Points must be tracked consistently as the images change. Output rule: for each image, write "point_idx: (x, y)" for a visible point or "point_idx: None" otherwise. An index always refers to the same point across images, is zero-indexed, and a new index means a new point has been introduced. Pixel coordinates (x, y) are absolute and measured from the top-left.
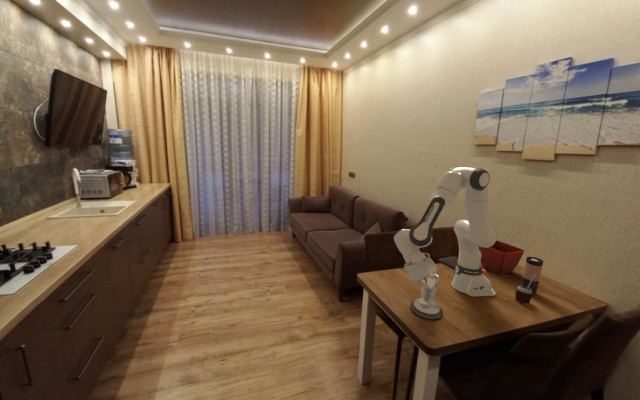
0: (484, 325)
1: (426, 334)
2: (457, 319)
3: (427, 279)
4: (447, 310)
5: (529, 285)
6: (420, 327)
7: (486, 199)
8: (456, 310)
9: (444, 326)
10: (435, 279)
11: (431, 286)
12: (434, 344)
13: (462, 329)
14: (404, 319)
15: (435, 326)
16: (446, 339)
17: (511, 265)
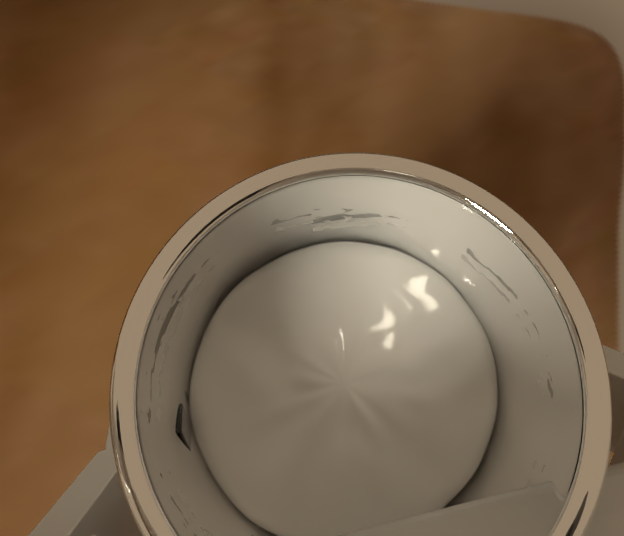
0: (14, 20)
1: (556, 131)
2: (153, 157)
3: (560, 341)
4: (112, 286)
5: None
6: (544, 208)
7: None
8: (28, 252)
9: (344, 140)
10: (423, 165)
11: (442, 252)
12: (575, 39)
13: (236, 60)
14: (607, 341)
15: None
16: (453, 38)
17: None
